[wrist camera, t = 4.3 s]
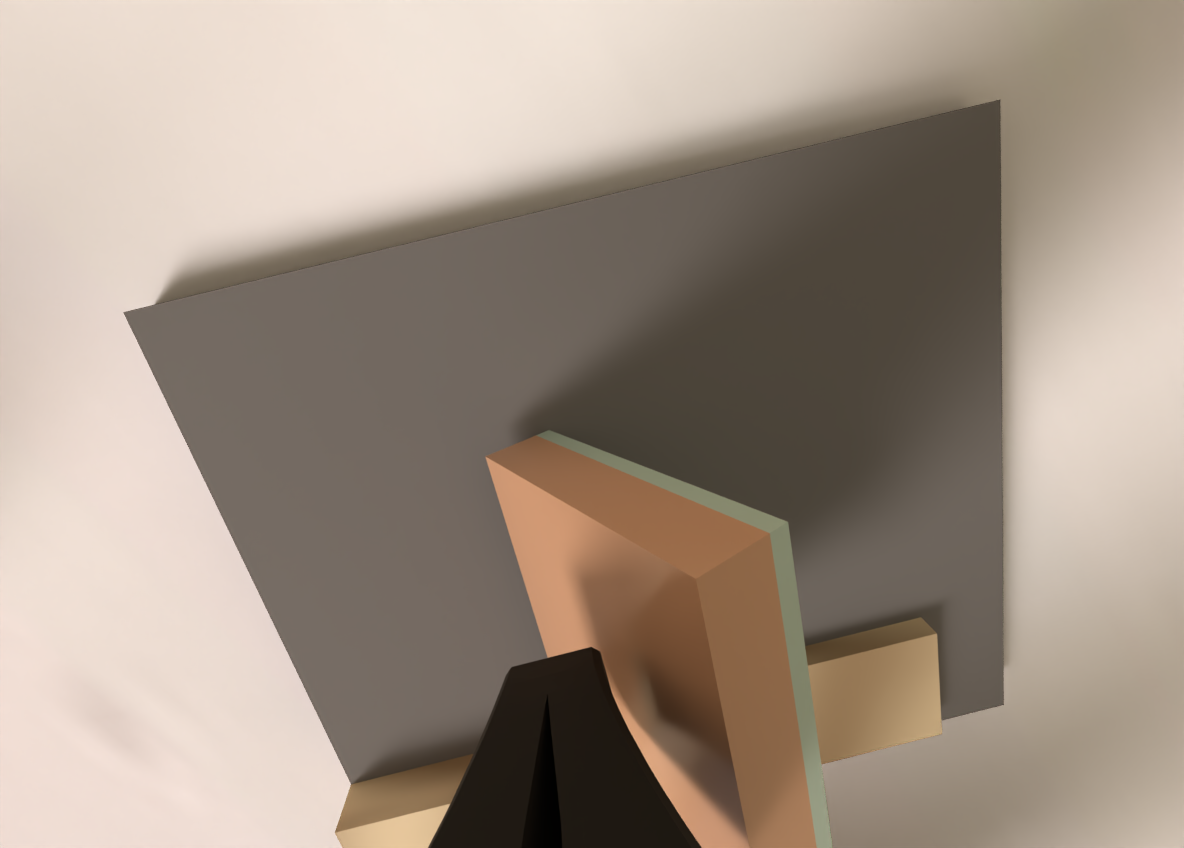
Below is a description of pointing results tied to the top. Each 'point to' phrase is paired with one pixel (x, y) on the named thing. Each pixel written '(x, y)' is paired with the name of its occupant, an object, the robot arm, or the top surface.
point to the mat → (615, 414)
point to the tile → (677, 631)
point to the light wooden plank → (841, 707)
